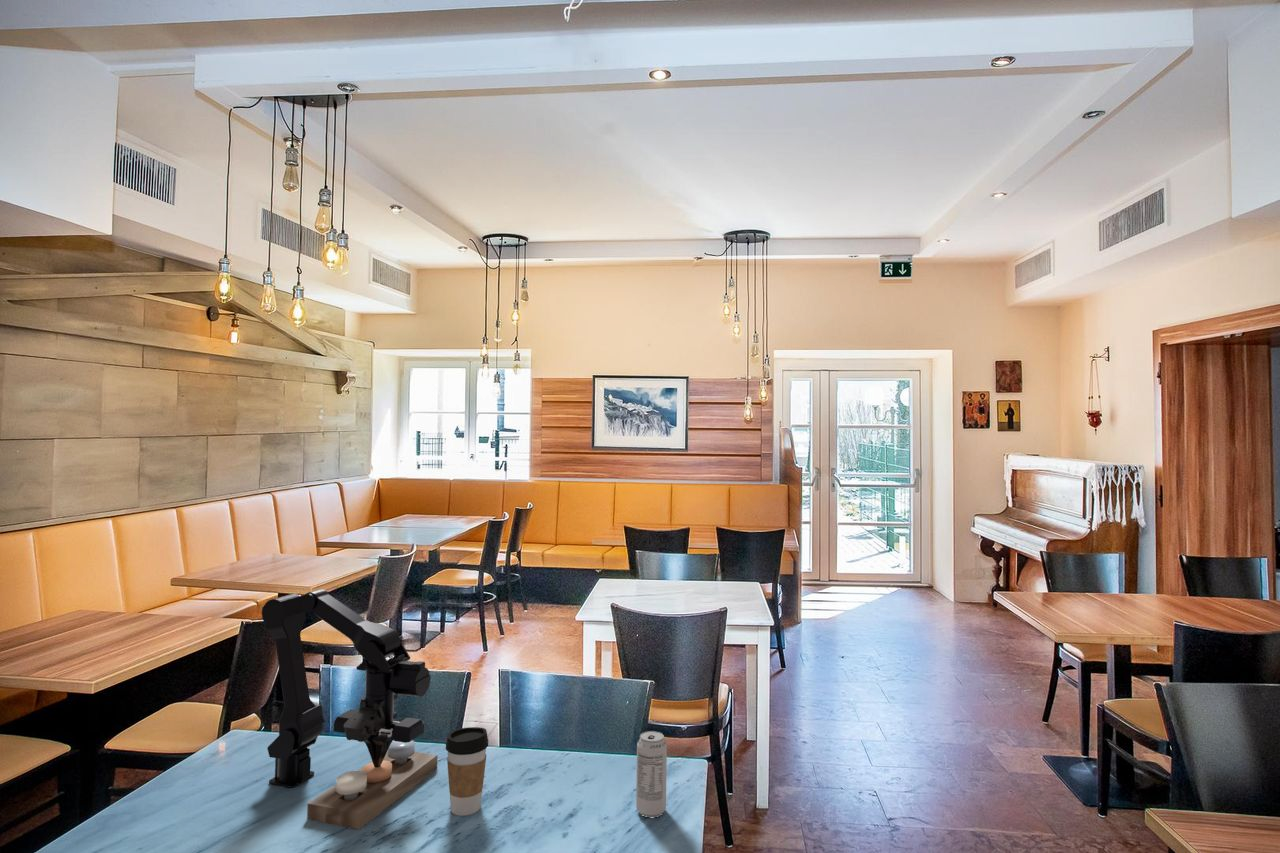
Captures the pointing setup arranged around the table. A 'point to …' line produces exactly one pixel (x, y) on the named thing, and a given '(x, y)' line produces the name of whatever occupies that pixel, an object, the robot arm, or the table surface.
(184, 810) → the table surface
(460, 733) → the coffee cup
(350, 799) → the cream button
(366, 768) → the terracotta button
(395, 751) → the slate button
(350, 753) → the table surface
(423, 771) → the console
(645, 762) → the energy drink can
